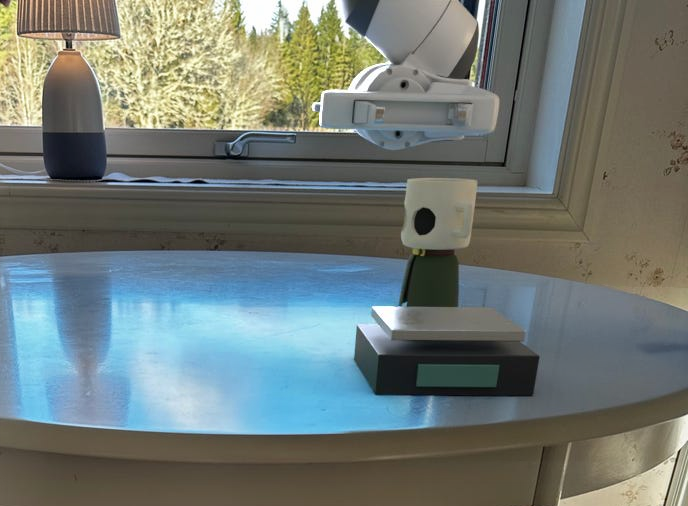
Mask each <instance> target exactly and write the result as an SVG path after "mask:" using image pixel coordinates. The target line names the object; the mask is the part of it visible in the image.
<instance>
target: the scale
mask: <svg viewBox="0 0 688 506" xmlns="http://www.w3.org/2000/svg"><path fill="white" fill-rule="evenodd" d="M540 358H541V356H540V355H539V354H538V353H536V352H535V351H534V350H532V349H531V348H530V347H528V346H527V345H525V344H524V343H523V342H520V341H400V340H391V339H390V338H389V337H388V336H387V334H386V333H385V332H384V331H383V329H382V328H381V327H380V326H379V325H378V323H357V324H356V329H355V342H354V353H353V359H354V361H355V363H356V365H357V367H358V369H359V370H360V371H361V374H362V375H363V376H364V378H365V380H366V381H367V383H368V384H369V386H370V388H371V390H372V391H373V393H374V395H375V396H376V395H379V396H380V395H381V396H385V395H387V396H392V395H393V396H492V397H493V396H495V397H496V396H497V397H498V396H503V397H504V396H507V397H509V396H511V397H514V396H516V397H532V396H534V393H535V386H536V381H537V374H538V369H539V365H540Z"/></svg>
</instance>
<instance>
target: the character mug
mask: <svg viewBox="0 0 688 506" xmlns="http://www.w3.org/2000/svg"><path fill="white" fill-rule="evenodd" d="M406 180H407V181H406V186H405V187H406V188H405V197H404V202H403V204H404V221H403V225H402V228H401V233H400V238H401V239H400V240H401V241H402V245H403V246H406V247H408V248H411V249H412V253H411V254H410V255H409V258H408V259H407V261H406V267H405V271H404V275H403V279H402V284H401V288H400V294H399V299H398V305H397V307H403V304H405V303H406V306H405V307H459V293H460V273H459V272H460V271H459V270H460V269H459V268H460V267H459V265H460V264H459V259H458V256H457V254H455V251H456V250H461V249H464V248H467V247H469V245H470V242H471V238H472V230H473V223H474V215H475V214H474V213H475V207H476V199H477V191H478V180H476V179H472V178H471V179H470V178H458V177H457V178H455V177H454V178H453V177H417V178H408V179H406Z"/></svg>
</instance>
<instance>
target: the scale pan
mask: <svg viewBox="0 0 688 506" xmlns="http://www.w3.org/2000/svg"><path fill="white" fill-rule="evenodd" d="M370 315H371V317H372V319H373V320H374V321H375V322H376V324H378V325H379V326H380V327H381V328H382V329H383V331H384V332H385V333H386V334H387V336H388V337H389V338H390V339H391V340H400V341H520V342H521V343H523V342H525V340H526V335H527V330H526V329H524V328H523V327H521V326H519V325H518V324H517V323H515V322H513V320H510V319H509V318H508V317H506V316H505V315H503V314H502V313H500V312H499V311H497V310H496V309H494V308H492V307H486V306H485V307H483V306H482V307H481V306H478V307H476V306H474V307H473V306H472V307H471V306H458V307H406V306H402V307H399V306H375V305H374V306H372V307H371V313H370Z"/></svg>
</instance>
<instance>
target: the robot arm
mask: <svg viewBox="0 0 688 506" xmlns="http://www.w3.org/2000/svg"><path fill="white" fill-rule="evenodd" d="M339 4H340V5H339V6H340V12H341V16H342V20H343V23H344V24H346V25H347V26H348V27H349V28H350V29H352V30H353V31H354V32H356V33H357V34H358V35H359V36H361V37H362V38H363V39H364V38H365V40H367V41H368V42H369V43H370V44H371V45H372V46H373V47H374V48H375V49H376V51H379V53H380V54H381V55H382V56H383V57H384V58H385V59H386V60H387V61H386V62H384V63H379V64H374V65H371V66H369V67H366V68H365V69H363V70H362V71H360V73H358V74H357V75H356V76H355V77H354V78H353V80H352V82H351V84H350V85H349V88H348V89H329V90H328V89H327V90H324V91H322V93H321V98H320V102H313V103H312V105H311V108H312V111H313V112H316V113H319V126H320V127H321V128H323V129H327V130H329V129H330V130H354V131H355V132H356V133H357V134H358V135H360V136H361V137H362V138H364V139H365V140H367V141H369V142H370V143H372V144H374V145H377V146H378V147H379V148H383V149H385V150H389V151H390V150H391V151H399V150H404V149H407V148H409V147H416V146H420V145H423V144H426V143H438V142H453V141H461V140H463V139H464V138H465V136H473V135H474V136H475V135H476V136H477V135H478V136H479V135H486V134H487V135H488V134H491V133H493V132H494V131H495V129H496V127H497V122H498V116H499V110H500V97H499V96H498V95H497V94H496V93H494V92H492V91H489V90H487V89H485V88H481V87H477V86H473V81H472V80H471V79H468V78H466V76H467V75H468V73H469V72H470V71H471V69H472V67H473V65H474V62H475V60H476V57H477V53H478V52H477V51H478V46H479V40H480V39H479V37H480V27H479V26H480V25H479V22H478V20H477V19H476V18H475V16H473V15H472V14H471V13H470V11H469V10H468V9H467V8H466V7H465V6H464V5H463V4H462V3H461V2H460V1H459V0H339Z"/></svg>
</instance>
